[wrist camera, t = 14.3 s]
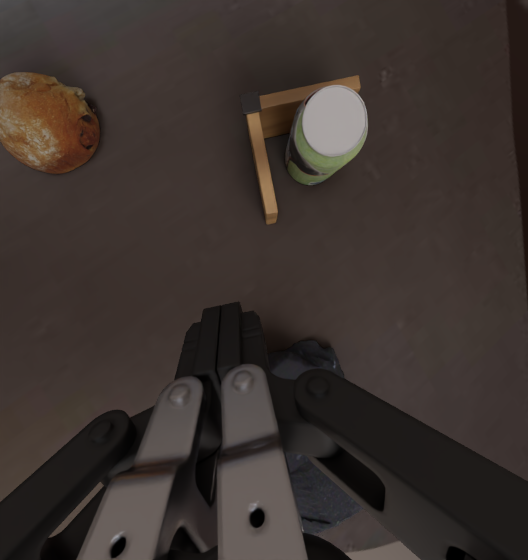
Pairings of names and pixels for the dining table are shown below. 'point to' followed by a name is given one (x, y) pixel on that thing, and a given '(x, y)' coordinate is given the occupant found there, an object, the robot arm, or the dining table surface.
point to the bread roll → (46, 122)
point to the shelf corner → (276, 129)
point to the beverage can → (325, 133)
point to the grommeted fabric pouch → (305, 475)
